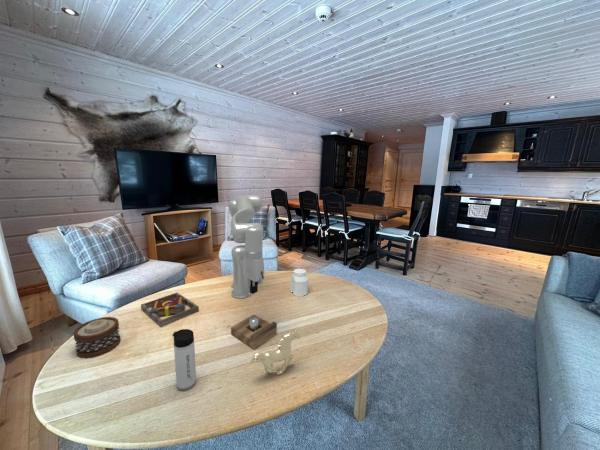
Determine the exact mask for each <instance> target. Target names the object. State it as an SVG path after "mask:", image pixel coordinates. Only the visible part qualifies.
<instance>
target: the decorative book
mask: <svg viewBox="0 0 600 450" xmlns="http://www.w3.org/2000/svg"><path fill="white" fill-rule="evenodd" d="M184 297H185V296H183V297H179V298H178V297H174V298H172V299H166V300H164V299H162V300H160V301H154V303H153V306H152V307H151V308H150V313H155V314H156V315H157V316H158V317H159V318H162V317H170V316H173V315H175V314H178V313H180V312H183V311H185V310H186V309H185V308H186V307H187V305H185V304H184V303H185V302H184V301H185V300H184Z"/></svg>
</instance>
